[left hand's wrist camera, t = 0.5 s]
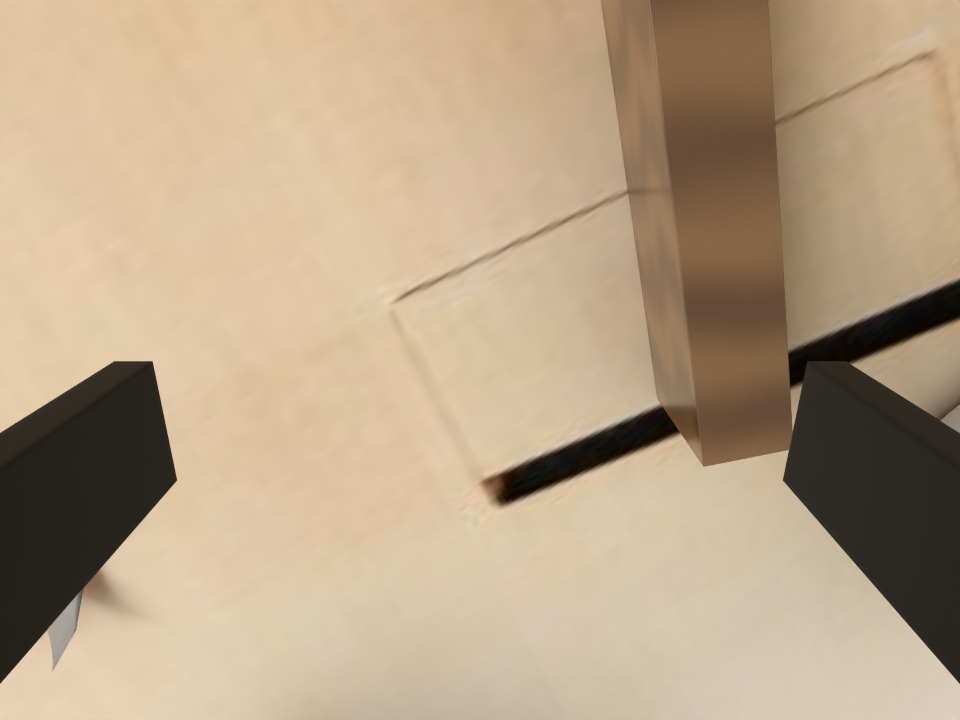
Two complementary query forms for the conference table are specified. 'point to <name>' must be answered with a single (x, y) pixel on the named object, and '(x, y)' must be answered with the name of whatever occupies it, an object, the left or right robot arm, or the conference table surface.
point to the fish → (64, 628)
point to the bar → (706, 215)
